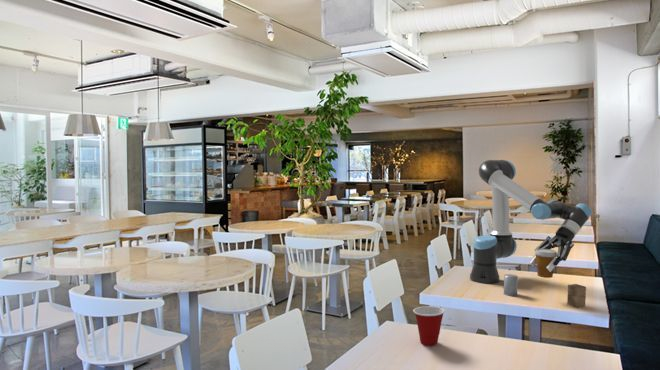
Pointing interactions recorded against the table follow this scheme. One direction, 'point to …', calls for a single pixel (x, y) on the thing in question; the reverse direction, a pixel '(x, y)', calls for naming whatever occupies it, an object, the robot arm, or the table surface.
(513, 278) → the grey rounded cylinder
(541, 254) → the disposable coffee cup
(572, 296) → the walnut block
